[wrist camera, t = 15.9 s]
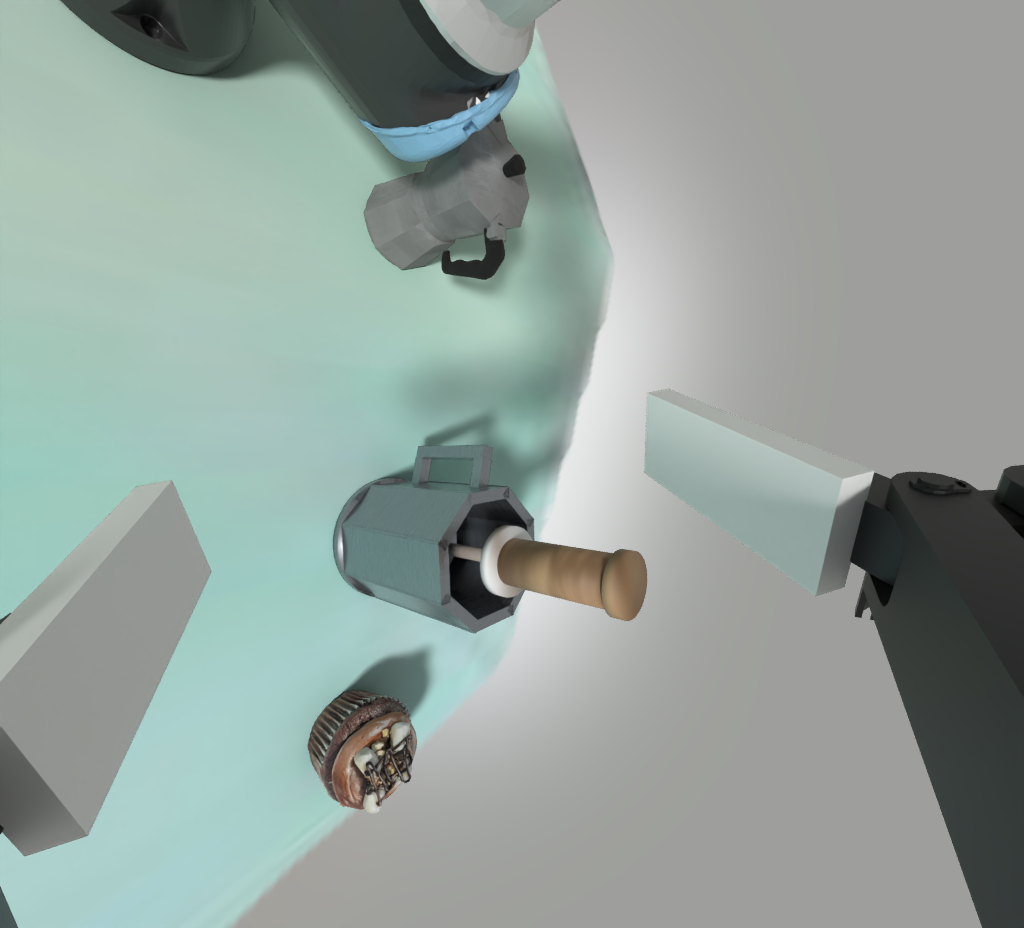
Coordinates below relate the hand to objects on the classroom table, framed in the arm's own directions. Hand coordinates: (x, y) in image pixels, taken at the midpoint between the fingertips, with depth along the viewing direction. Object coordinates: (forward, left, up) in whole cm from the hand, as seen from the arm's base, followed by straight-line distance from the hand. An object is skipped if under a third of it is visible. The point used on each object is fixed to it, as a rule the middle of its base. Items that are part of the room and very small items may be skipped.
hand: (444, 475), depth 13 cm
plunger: (-8, +22, -28) cm, 37 cm away
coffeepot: (-34, +1, -35) cm, 48 cm away
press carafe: (-9, +22, -34) cm, 42 cm away
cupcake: (+10, +31, -35) cm, 47 cm away
